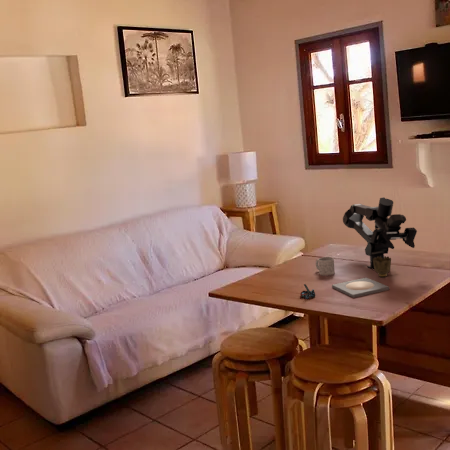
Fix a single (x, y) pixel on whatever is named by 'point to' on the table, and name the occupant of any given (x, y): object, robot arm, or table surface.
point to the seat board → (360, 287)
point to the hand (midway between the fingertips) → (403, 247)
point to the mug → (325, 266)
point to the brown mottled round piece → (382, 265)
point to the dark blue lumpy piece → (307, 293)
